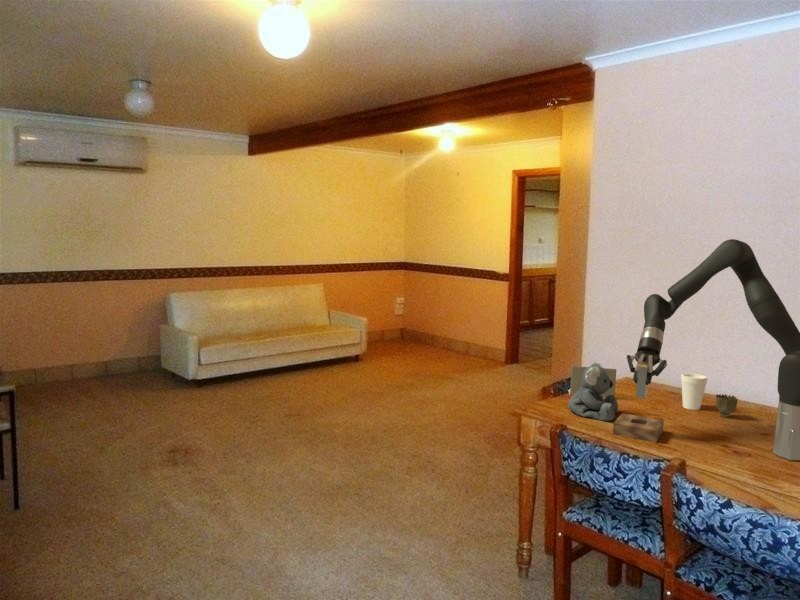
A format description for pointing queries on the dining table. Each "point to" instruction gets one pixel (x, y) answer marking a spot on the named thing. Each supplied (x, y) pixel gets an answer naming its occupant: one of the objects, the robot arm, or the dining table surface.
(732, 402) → the cup
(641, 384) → the blue-grey rectangular block
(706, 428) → the dining table surface
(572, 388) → the grey box
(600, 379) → the koala plush
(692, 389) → the foam cup
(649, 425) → the flat wooden box
